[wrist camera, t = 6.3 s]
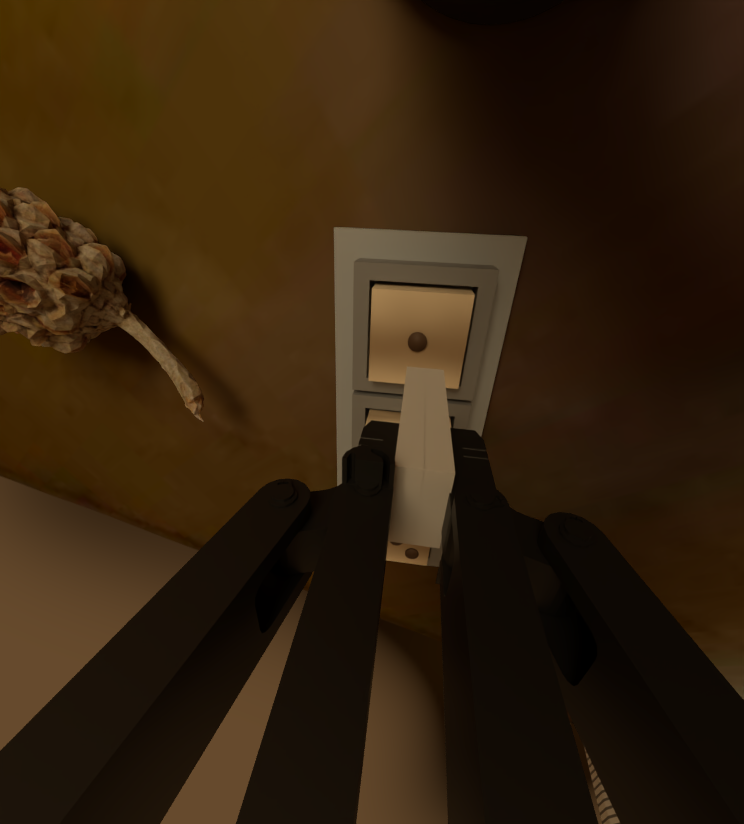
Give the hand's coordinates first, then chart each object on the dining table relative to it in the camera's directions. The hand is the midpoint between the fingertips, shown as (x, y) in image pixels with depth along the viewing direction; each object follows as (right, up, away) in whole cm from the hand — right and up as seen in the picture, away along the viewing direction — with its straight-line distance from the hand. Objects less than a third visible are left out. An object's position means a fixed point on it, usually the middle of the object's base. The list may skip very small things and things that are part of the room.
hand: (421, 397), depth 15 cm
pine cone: (-21, +9, +13) cm, 27 cm away
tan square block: (+1, +5, +10) cm, 11 cm away
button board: (+1, -2, +15) cm, 16 cm away
